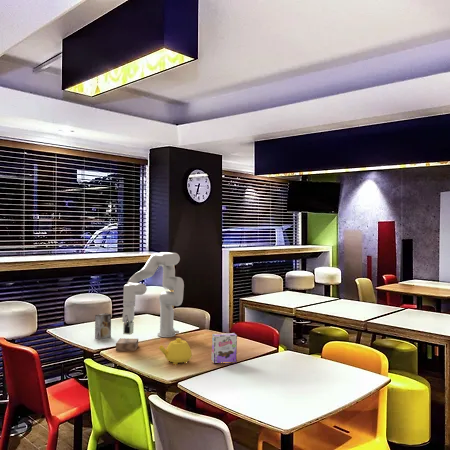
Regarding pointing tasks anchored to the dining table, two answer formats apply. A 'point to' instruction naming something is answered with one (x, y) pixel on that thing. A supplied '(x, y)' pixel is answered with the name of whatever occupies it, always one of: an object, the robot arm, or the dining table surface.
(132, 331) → the sage block
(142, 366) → the dining table surface
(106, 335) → the coffee box
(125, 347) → the block
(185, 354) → the teapot
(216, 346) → the candy box
